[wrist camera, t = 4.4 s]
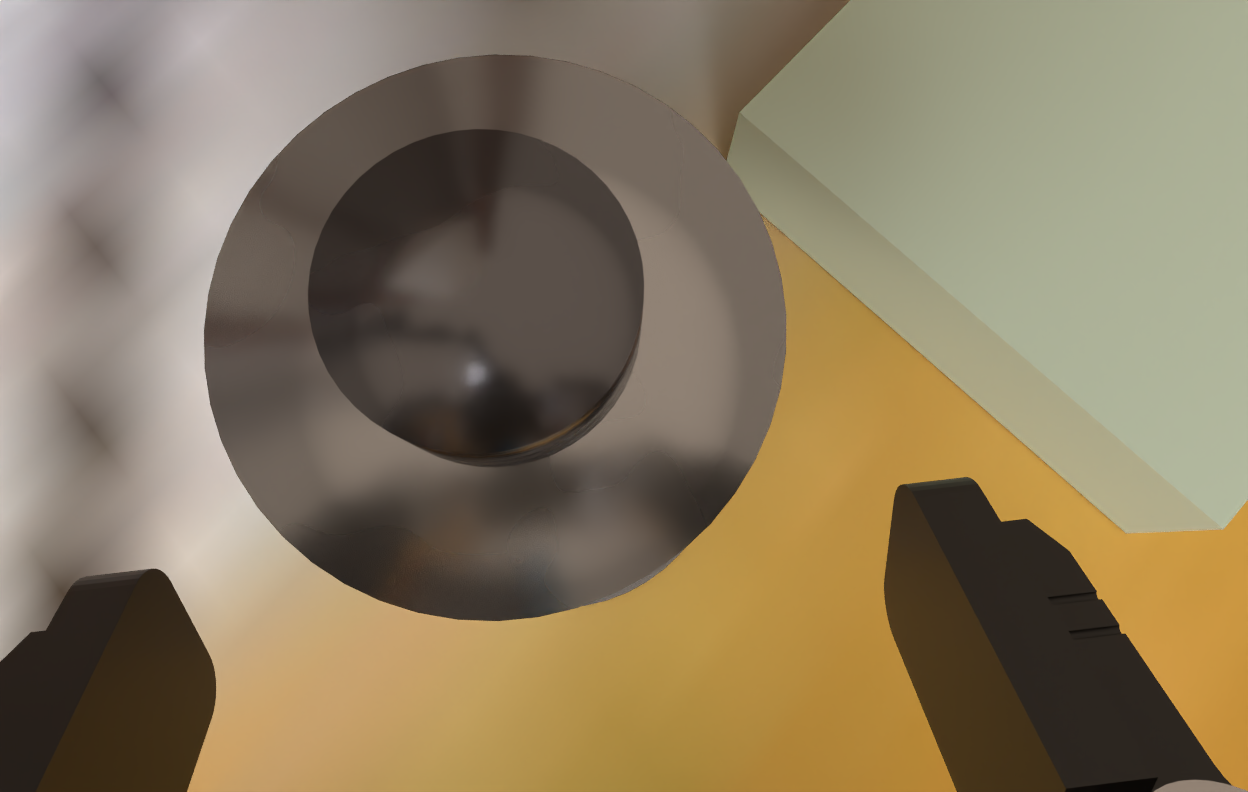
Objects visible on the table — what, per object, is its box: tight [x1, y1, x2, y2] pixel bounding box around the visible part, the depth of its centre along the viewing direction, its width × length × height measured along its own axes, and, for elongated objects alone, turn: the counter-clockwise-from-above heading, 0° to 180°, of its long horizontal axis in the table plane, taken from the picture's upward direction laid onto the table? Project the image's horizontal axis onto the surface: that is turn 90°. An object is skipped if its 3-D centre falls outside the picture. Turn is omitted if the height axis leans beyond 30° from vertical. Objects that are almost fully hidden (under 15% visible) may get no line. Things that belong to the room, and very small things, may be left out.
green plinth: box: [727, 0, 1248, 533], centre depth 18 cm, size 11×11×3 cm
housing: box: [204, 55, 786, 621], centre depth 13 cm, size 6×6×11 cm
